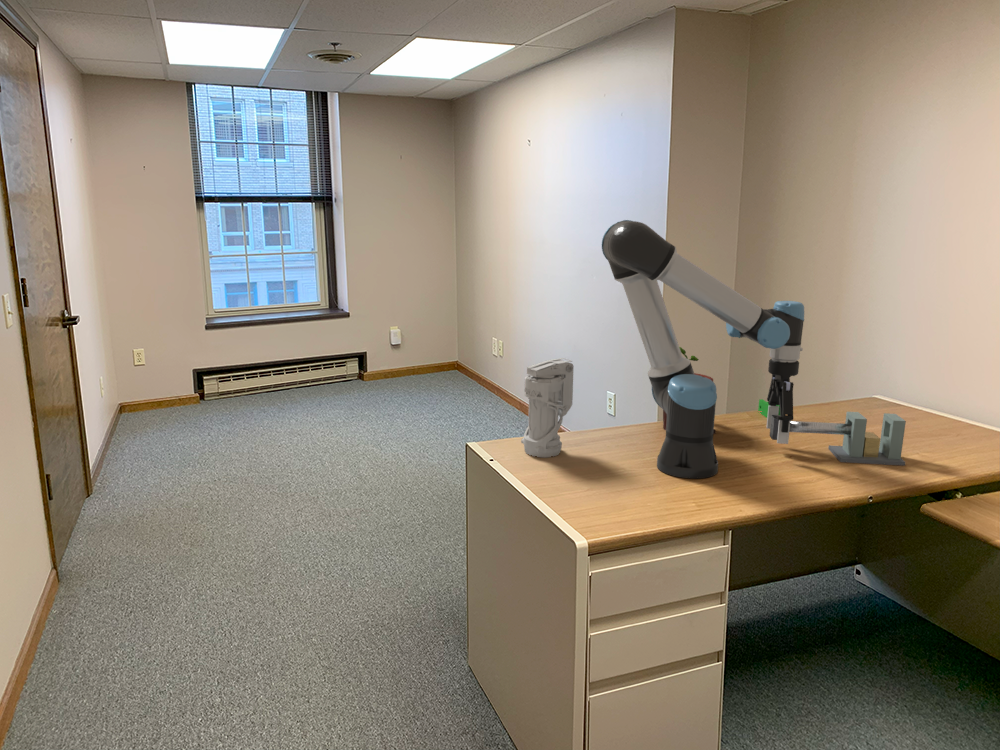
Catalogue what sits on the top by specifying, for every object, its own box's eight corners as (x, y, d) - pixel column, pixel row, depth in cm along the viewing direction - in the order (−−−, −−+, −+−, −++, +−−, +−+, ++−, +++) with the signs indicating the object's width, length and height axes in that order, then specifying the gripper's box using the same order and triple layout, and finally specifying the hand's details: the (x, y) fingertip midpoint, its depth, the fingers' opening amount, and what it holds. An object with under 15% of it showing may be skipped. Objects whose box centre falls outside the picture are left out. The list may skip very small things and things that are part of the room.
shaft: (852, 440, 197) (854, 418, 195) (856, 444, 193) (859, 422, 192) (769, 435, 200) (771, 414, 199) (772, 439, 196) (774, 418, 195)
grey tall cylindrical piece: (536, 460, 191) (538, 367, 185) (516, 448, 200) (517, 360, 194) (576, 452, 197) (579, 362, 191) (556, 442, 206) (558, 355, 200)
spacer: (870, 450, 198) (873, 432, 196) (877, 457, 192) (880, 438, 191) (856, 449, 198) (859, 431, 197) (863, 456, 193) (865, 437, 192)
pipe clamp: (784, 422, 228) (785, 408, 227) (772, 422, 228) (773, 408, 227) (768, 412, 239) (770, 398, 238) (757, 412, 239) (759, 399, 237)
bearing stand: (889, 452, 200) (894, 411, 197) (904, 465, 189) (910, 423, 186) (828, 448, 202) (832, 409, 199) (840, 462, 191) (845, 420, 189)
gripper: (811, 369, 180) (802, 450, 185) (788, 351, 204) (781, 423, 209) (780, 368, 182) (772, 449, 186) (760, 350, 206) (754, 422, 210)
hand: (776, 435), depth 198 cm, fingers open, 13 cm apart
